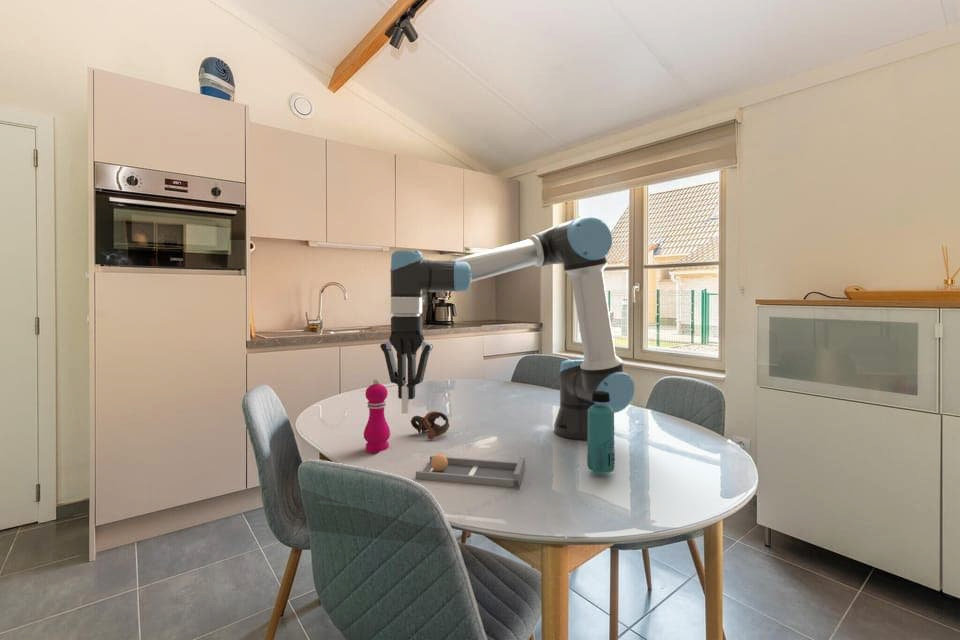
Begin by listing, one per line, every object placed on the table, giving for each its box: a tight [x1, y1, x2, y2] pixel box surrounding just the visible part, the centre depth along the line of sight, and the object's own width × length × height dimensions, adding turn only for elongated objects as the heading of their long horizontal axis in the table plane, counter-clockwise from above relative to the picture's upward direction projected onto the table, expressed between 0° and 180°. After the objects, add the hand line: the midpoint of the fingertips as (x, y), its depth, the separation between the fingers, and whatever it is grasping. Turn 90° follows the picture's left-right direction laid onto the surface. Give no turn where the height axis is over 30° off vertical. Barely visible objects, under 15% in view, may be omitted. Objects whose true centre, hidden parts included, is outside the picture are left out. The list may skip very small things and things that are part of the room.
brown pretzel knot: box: [410, 410, 450, 440], centre depth 138 cm, size 12×10×8 cm
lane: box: [415, 455, 526, 491], centre depth 107 cm, size 24×11×4 cm, turn 78°
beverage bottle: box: [586, 391, 616, 474], centre depth 107 cm, size 6×7×20 cm
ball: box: [431, 453, 448, 471], centre depth 108 cm, size 4×4×4 cm
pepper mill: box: [363, 378, 391, 454], centre depth 125 cm, size 7×7×20 cm
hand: (406, 412), depth 109 cm, fingers closed
